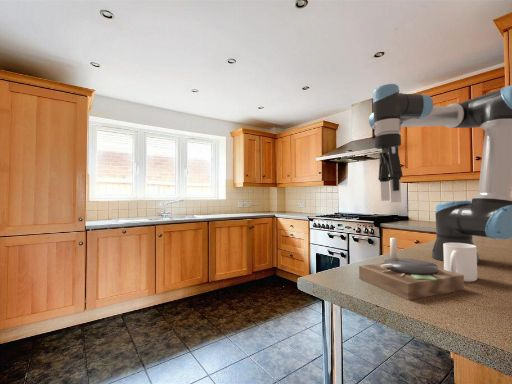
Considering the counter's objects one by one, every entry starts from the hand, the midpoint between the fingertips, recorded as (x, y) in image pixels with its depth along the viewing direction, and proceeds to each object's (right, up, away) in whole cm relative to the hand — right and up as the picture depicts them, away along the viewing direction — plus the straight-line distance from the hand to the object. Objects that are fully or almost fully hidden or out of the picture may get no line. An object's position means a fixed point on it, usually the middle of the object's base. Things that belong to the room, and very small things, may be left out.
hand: (390, 201), depth 84 cm
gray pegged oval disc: (+2, -20, -5) cm, 21 cm away
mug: (+20, -24, -3) cm, 31 cm away
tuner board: (+2, -24, -6) cm, 25 cm away
